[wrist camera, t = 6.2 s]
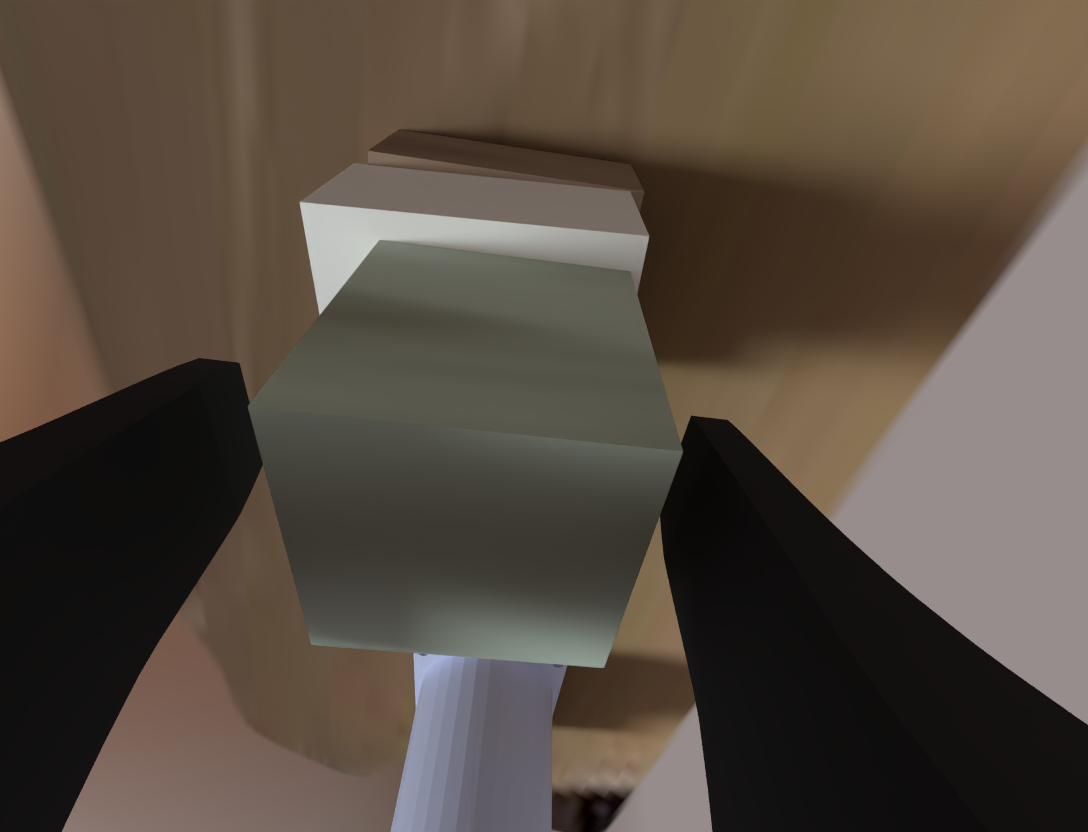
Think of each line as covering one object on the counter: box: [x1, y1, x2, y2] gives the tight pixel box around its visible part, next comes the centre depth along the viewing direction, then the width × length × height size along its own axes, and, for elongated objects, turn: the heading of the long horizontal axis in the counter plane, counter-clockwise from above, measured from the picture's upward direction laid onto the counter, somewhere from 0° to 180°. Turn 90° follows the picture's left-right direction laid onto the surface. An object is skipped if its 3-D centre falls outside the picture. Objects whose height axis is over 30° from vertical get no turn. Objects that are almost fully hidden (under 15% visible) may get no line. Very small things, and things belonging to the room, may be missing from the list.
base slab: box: [368, 130, 645, 213], centre depth 14 cm, size 6×6×3 cm
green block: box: [248, 240, 683, 668], centre depth 9 cm, size 4×4×5 cm
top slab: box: [300, 163, 649, 314], centre depth 12 cm, size 6×6×3 cm
